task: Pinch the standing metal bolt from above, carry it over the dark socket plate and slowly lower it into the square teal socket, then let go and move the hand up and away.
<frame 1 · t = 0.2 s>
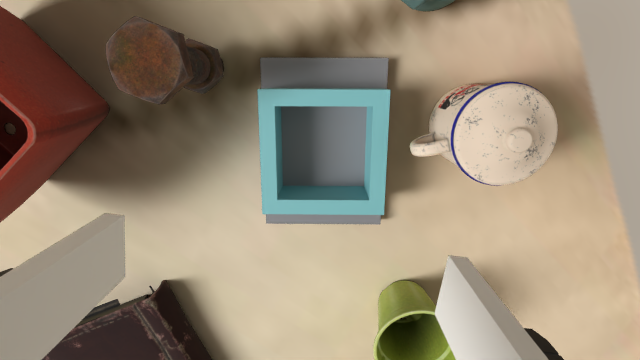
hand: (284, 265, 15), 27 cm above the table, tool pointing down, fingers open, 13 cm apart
teacup with lid: (453, 127, 41), on the table
bolt: (211, 68, 39), on the table
plant pot 2: (402, 300, 46), on the table
socket: (323, 143, 41), on the table
plant pot: (34, 105, 41), on the table
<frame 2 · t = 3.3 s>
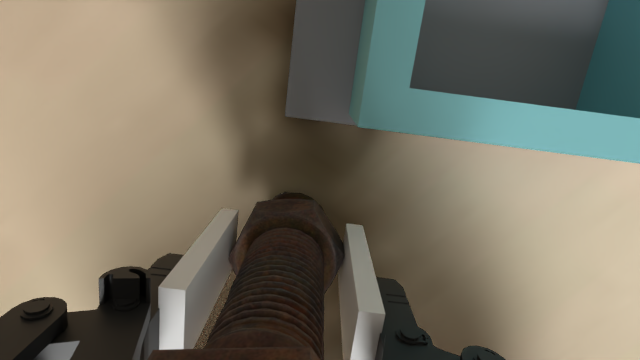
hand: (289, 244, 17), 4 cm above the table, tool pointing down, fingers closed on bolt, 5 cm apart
bolt: (295, 214, 21), on the table, touching gripper
socket: (490, 0, 17), on the table
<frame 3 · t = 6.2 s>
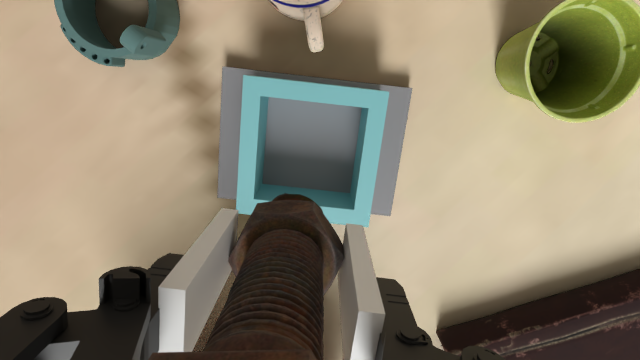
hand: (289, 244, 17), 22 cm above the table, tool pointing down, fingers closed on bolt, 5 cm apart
bolt: (295, 215, 21), point 18 cm above the table, touching gripper
plant pot 2: (525, 63, 36), on the table
socket: (311, 142, 38), on the table
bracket: (134, 18, 35), on the table
diary: (551, 354, 45), on the table
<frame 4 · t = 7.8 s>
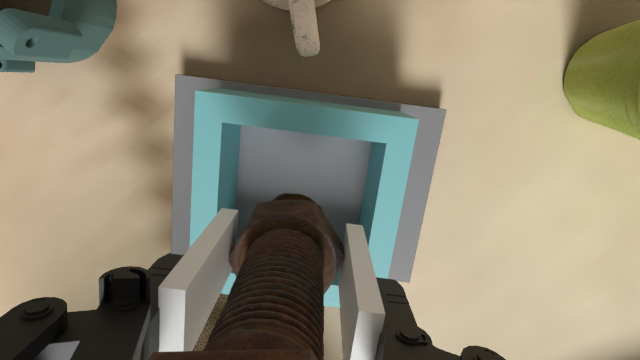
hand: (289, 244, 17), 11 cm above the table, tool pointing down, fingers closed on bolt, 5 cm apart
bolt: (295, 214, 21), point 7 cm above the table, touching gripper
plant pot 2: (605, 77, 26), on the table
socket: (302, 180, 27), on the table
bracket: (52, 3, 25), on the table
when the fingers open (8 cm above the table, at t = 9.0 s): bolt drops 3 cm, resting on socket.
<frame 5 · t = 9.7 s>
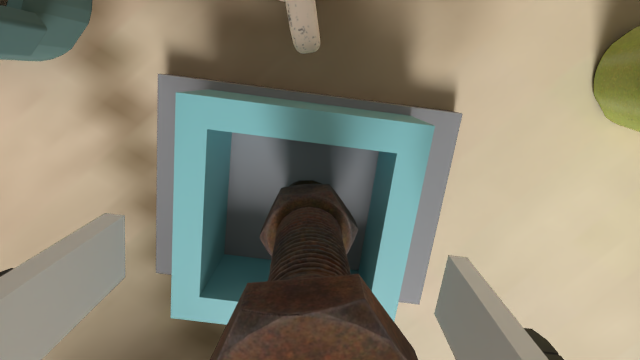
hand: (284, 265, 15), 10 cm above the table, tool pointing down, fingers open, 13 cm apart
bolt: (308, 199, 23), point 1 cm above the table, touching socket
socket: (300, 191, 25), on the table
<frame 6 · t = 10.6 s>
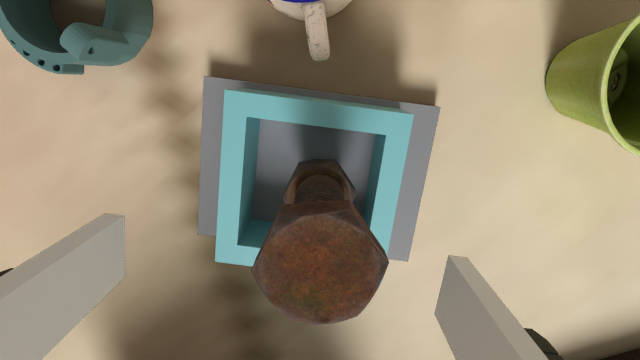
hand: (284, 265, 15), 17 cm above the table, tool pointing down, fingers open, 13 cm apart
bolt: (319, 175, 30), point 1 cm above the table, touching socket
plant pot 2: (583, 78, 29), on the table
socket: (312, 169, 31), on the table
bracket: (98, 14, 29), on the table
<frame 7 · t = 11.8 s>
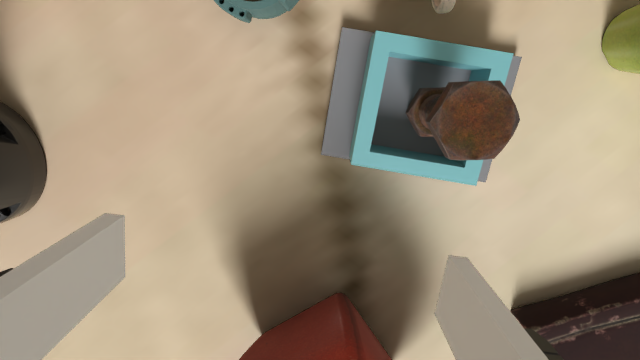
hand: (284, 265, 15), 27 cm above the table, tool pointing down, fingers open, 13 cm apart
bolt: (422, 109, 38), point 1 cm above the table, touching socket
plant pot 2: (631, 40, 37), on the table
socket: (414, 107, 40), on the table
diary: (624, 335, 46), on the table
plant pot: (328, 348, 48), on the table
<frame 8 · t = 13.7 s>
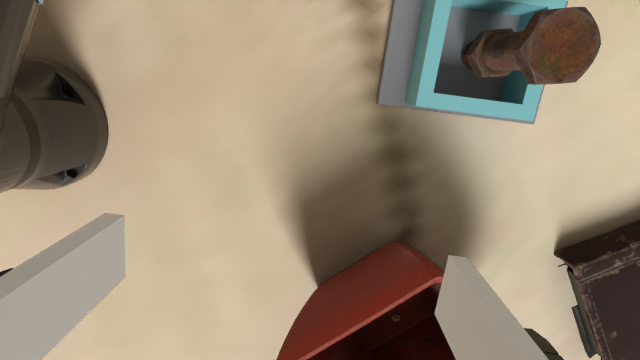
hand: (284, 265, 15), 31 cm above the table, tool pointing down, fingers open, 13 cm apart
bolt: (474, 55, 40), point 1 cm above the table, touching socket
socket: (464, 55, 42), on the table
plant pot: (381, 296, 50), on the table
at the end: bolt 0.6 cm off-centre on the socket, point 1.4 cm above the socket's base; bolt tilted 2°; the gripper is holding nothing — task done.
